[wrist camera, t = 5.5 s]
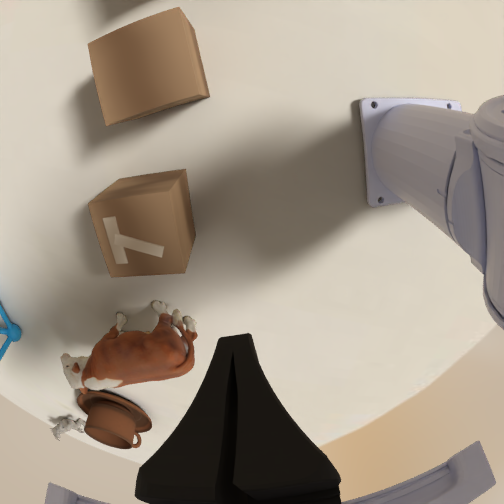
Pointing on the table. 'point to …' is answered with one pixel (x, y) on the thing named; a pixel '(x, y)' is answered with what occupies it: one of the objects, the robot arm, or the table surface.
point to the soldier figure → (67, 427)
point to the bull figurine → (135, 354)
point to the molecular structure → (8, 332)
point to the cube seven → (145, 224)
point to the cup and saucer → (113, 419)
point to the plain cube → (147, 67)
